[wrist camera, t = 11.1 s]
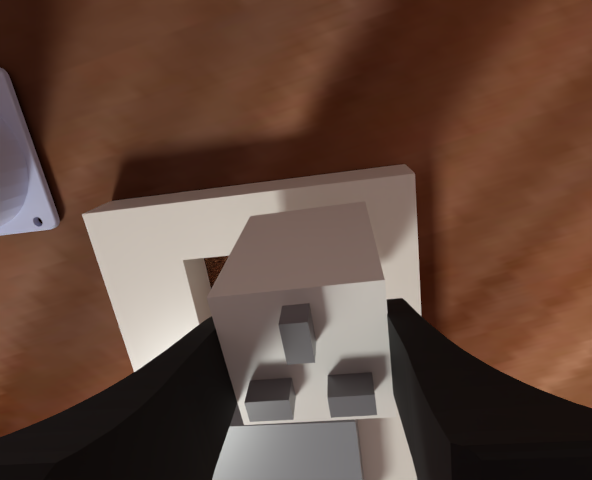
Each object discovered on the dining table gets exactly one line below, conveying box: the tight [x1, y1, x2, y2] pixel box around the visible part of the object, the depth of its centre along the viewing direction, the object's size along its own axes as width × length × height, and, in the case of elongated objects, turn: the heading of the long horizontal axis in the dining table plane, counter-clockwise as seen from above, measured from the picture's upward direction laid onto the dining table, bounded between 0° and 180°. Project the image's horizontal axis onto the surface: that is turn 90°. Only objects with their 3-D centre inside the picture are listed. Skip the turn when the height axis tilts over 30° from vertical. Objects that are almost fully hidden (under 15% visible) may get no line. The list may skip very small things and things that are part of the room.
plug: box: [207, 201, 397, 425], centre depth 13 cm, size 4×4×7 cm
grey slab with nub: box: [212, 403, 364, 480], centre depth 20 cm, size 8×8×3 cm
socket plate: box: [82, 164, 421, 480], centre depth 22 cm, size 15×20×2 cm
